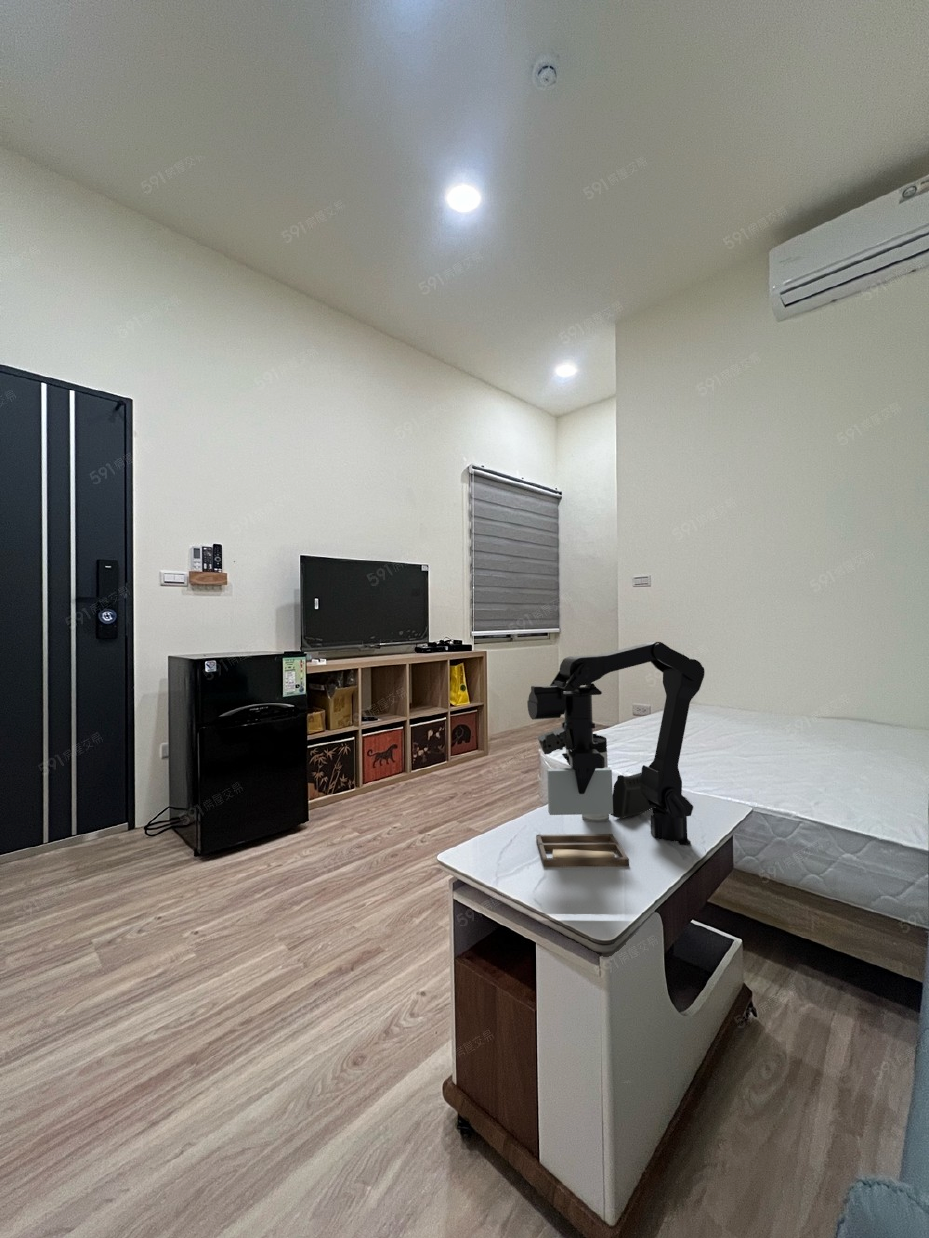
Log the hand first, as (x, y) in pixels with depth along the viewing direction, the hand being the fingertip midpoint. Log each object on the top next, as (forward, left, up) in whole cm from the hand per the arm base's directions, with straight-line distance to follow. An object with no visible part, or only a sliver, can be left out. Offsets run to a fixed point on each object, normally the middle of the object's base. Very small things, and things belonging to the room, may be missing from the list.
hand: (580, 791), depth 106 cm
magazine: (-22, -26, -12) cm, 36 cm away
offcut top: (+1, +5, -11) cm, 13 cm away
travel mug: (-7, -17, -12) cm, 22 cm away
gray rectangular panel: (0, 0, -4) cm, 4 cm away
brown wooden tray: (+1, +3, -12) cm, 12 cm away
